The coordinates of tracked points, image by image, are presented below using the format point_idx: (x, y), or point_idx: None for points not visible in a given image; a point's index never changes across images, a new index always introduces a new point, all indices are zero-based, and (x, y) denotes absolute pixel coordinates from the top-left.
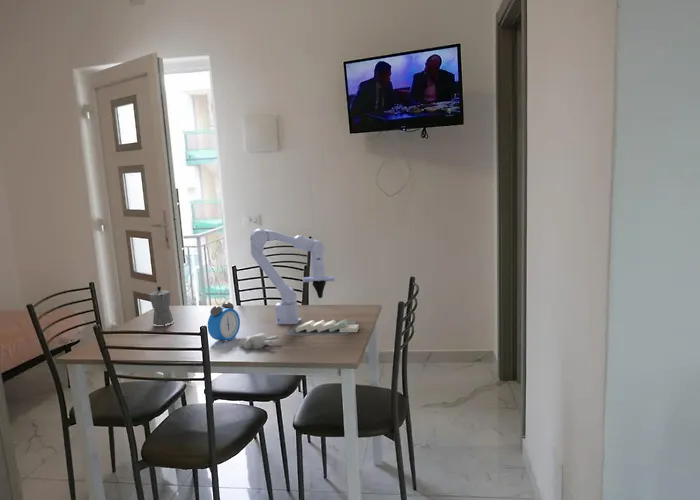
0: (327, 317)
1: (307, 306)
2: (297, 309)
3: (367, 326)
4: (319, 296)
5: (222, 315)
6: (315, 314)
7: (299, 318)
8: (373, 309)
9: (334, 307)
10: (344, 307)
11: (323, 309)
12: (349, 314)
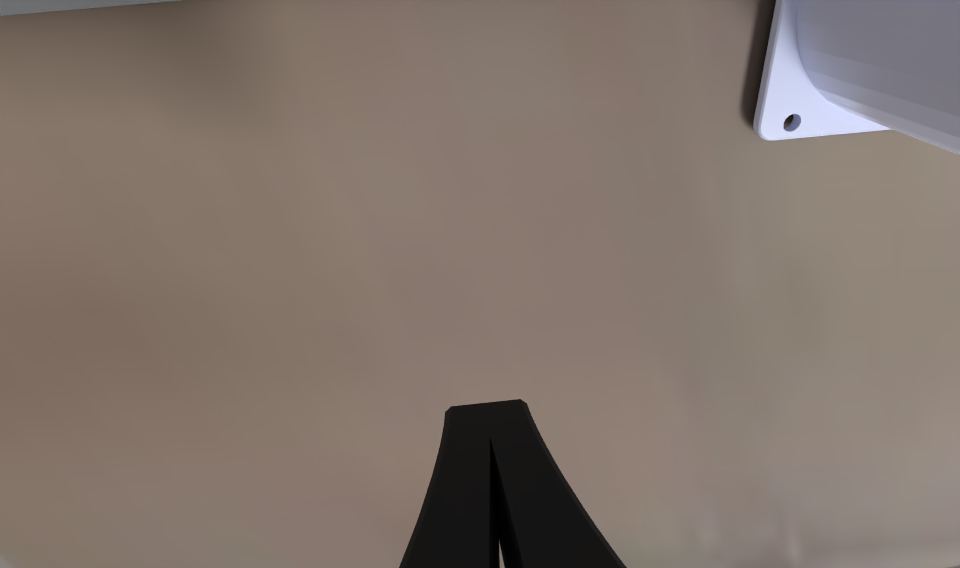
0: (397, 247)
1: (737, 553)
2: (937, 53)
3: None
4: (496, 426)
5: None
6: (599, 350)
7: (786, 131)
8: (6, 535)
9: None
10: (361, 558)
11: None
12: (165, 375)
